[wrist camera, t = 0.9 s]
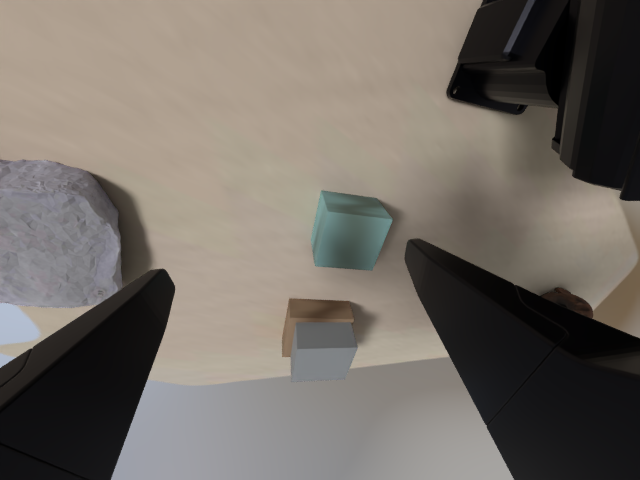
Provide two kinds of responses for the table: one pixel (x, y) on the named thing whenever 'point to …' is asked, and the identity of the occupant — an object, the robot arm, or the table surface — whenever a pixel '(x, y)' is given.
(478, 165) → the table surface
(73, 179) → the stone block
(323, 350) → the grey middle block
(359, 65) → the table surface
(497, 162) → the table surface
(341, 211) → the teal block
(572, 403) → the robot arm
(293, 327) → the walnut base block
